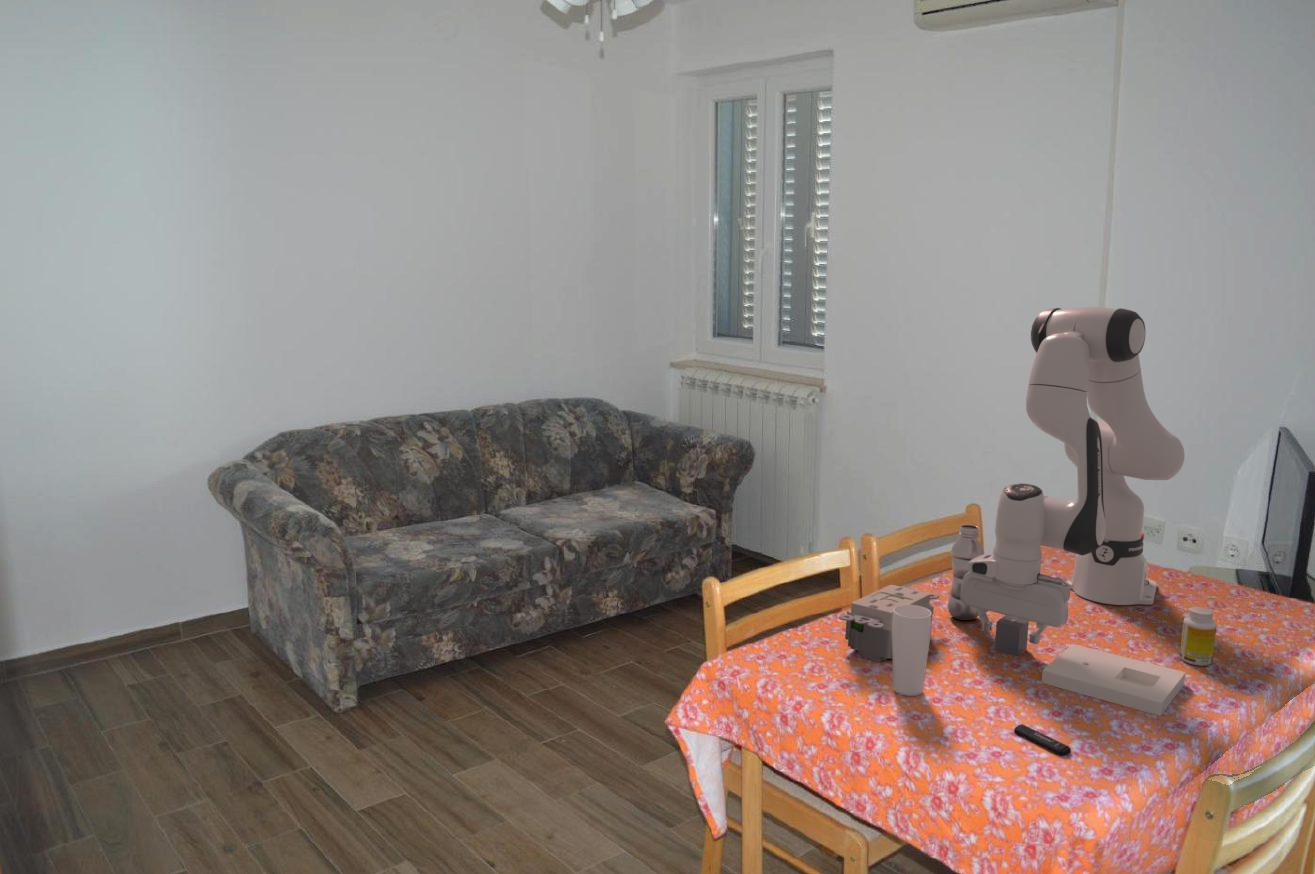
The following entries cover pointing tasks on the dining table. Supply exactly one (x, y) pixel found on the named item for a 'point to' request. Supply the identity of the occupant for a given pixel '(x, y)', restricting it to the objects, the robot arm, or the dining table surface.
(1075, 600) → the dining table surface
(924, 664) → the drinking glass
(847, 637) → the electrical outlet
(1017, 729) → the usb stick
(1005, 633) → the block
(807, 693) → the dining table surface
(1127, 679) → the outlet plate
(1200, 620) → the supplement bottle
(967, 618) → the plastic bottle
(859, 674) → the dining table surface
